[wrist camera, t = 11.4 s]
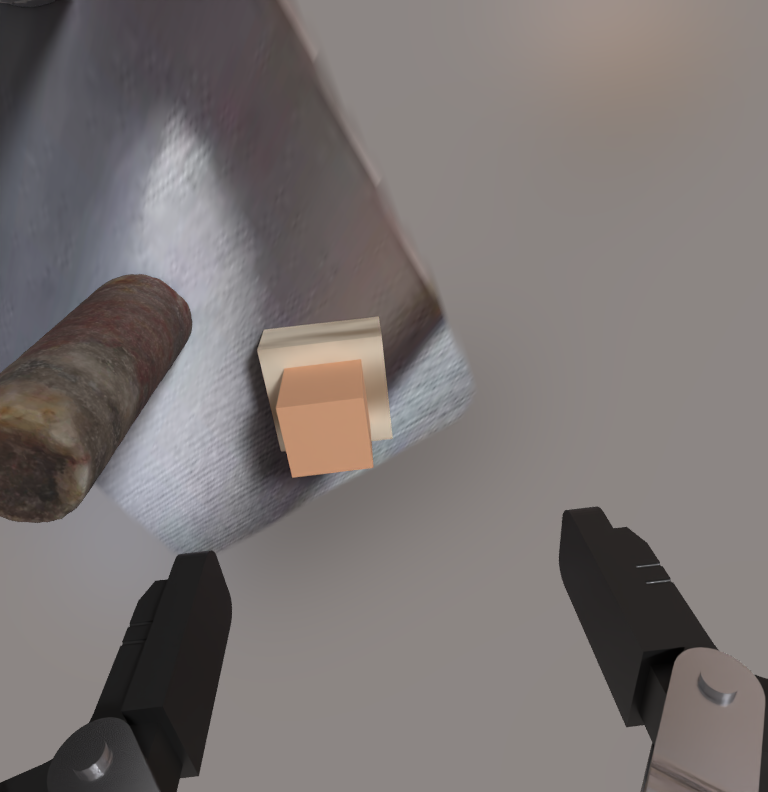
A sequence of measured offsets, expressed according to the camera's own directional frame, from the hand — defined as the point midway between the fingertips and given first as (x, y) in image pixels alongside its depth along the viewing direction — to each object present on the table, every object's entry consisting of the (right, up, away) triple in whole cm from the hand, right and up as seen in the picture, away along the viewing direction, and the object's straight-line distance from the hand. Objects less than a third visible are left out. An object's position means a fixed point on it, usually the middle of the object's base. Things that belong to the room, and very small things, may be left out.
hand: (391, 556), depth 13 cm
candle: (-19, +10, +31) cm, 38 cm away
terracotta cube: (-5, +4, +31) cm, 32 cm away
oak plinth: (-5, +6, +35) cm, 35 cm away
